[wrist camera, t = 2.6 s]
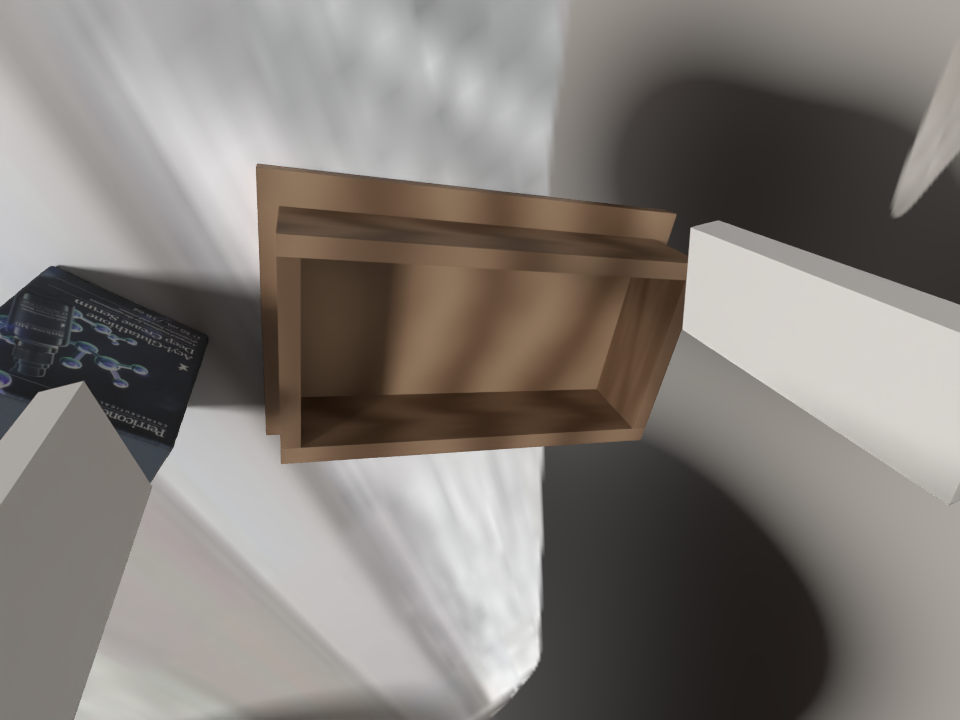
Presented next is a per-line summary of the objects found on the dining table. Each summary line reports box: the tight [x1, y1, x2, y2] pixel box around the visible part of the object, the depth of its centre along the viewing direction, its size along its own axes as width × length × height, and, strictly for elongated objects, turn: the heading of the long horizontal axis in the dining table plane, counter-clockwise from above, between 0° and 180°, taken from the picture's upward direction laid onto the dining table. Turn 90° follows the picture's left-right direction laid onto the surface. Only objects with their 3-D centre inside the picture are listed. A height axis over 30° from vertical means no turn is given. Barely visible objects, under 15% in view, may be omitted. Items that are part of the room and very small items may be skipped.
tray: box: [256, 164, 688, 464], centre depth 31 cm, size 25×16×6 cm, turn 81°
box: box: [0, 266, 209, 483], centre depth 23 cm, size 8×6×11 cm
